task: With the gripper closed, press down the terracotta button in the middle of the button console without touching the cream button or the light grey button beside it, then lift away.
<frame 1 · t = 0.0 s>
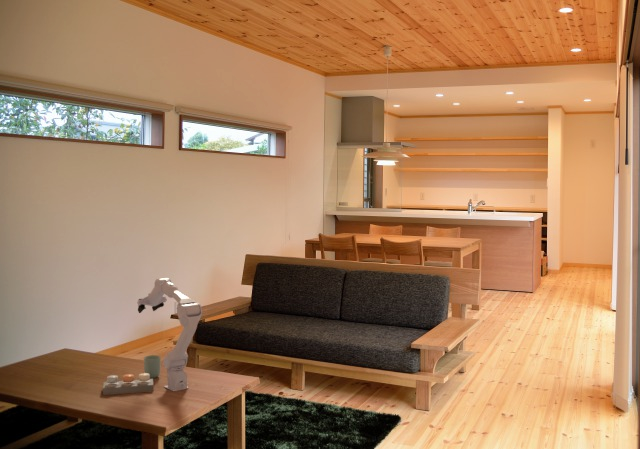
hand: (146, 310, 334), 32 cm above the table, tool tilted 50°, fingers open, 7 cm apart
cream button: (144, 377, 313), point 5 cm above the table, slide at 0.0 cm
terracotta button: (128, 378, 312), point 5 cm above the table, slide at 0.0 cm
console: (128, 389, 312), on the table
cup: (152, 377, 332), on the table
light grey button: (112, 379, 310), point 5 cm above the table, slide at 0.0 cm
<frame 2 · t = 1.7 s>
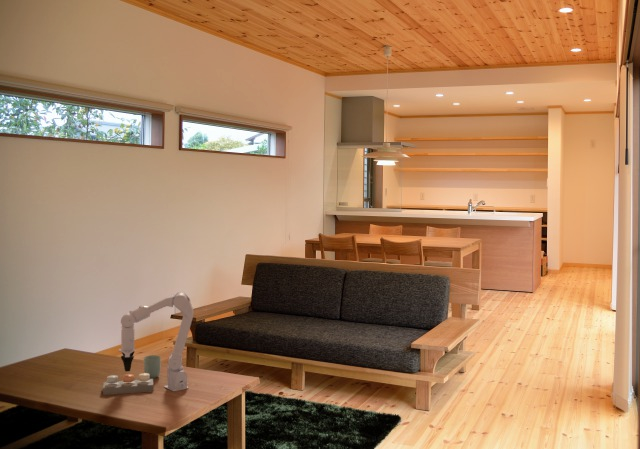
hand: (127, 368, 312), 10 cm above the table, tool pointing down, fingers open, 7 cm apart
nothing on the table moved.
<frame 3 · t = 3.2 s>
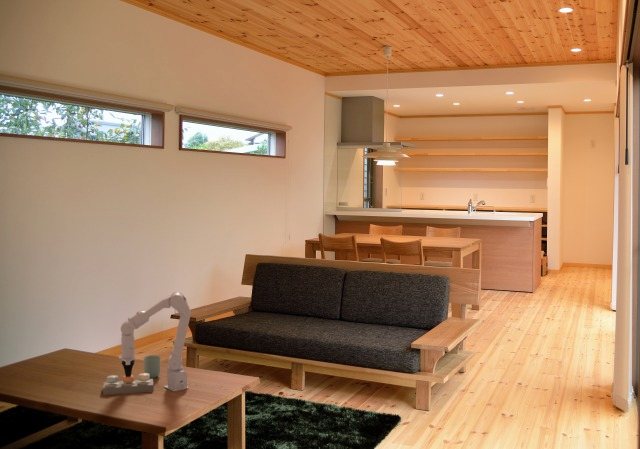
hand: (128, 376, 312), 6 cm above the table, tool pointing down, fingers closed, pressing on terracotta button
terracotta button: (128, 379, 312), point 5 cm above the table, slide at 0.3 cm, touching gripper
everything else where it was.
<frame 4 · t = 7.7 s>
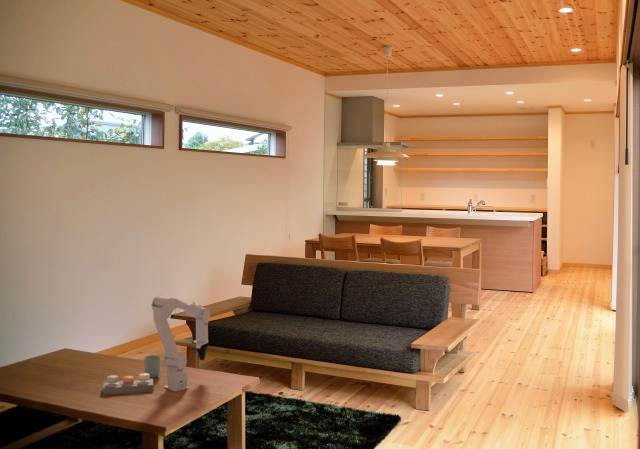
hand: (202, 359, 330), 9 cm above the table, tool pointing down, fingers closed
terracotta button: (128, 379, 312), point 5 cm above the table, slide at 0.8 cm
everything else where it was.
at the end: terracotta button slide at 0.8 cm; cream button slide at 0.0 cm; light grey button slide at 0.0 cm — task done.
